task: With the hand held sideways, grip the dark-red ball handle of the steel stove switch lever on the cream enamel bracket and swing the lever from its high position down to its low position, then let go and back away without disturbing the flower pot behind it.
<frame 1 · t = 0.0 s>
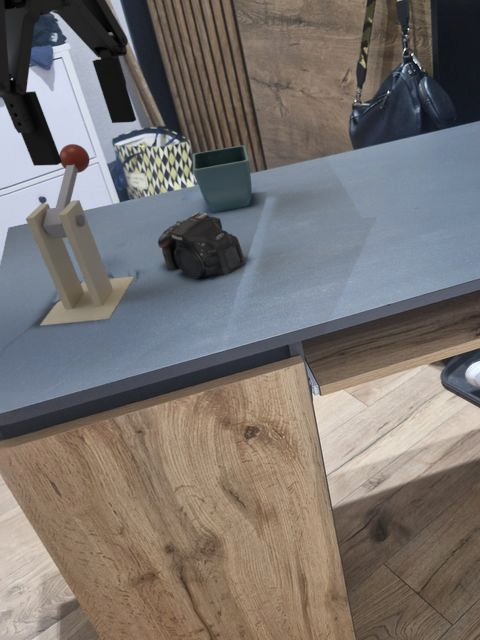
hand: (89, 141, 67), 22 cm above the table, tool pointing down, fingers open, 13 cm apart
camera: (207, 274, 89), on the table
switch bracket: (92, 307, 85), on the table
lever: (67, 188, 81), point 14 cm above the table, hinge at 25.0°
flower pot: (232, 210, 108), on the table
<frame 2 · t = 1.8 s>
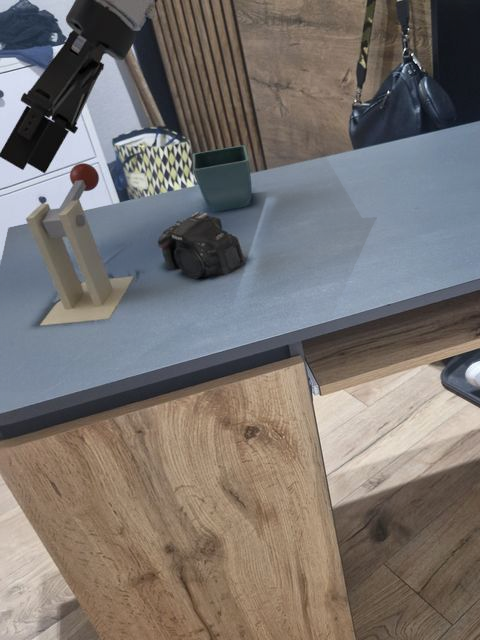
hand: (23, 165, 79), 18 cm above the table, tool tilted 50°, fingers open, 13 cm apart
lever: (72, 198, 82), point 13 cm above the table, hinge at 9.5°
everything else where it was.
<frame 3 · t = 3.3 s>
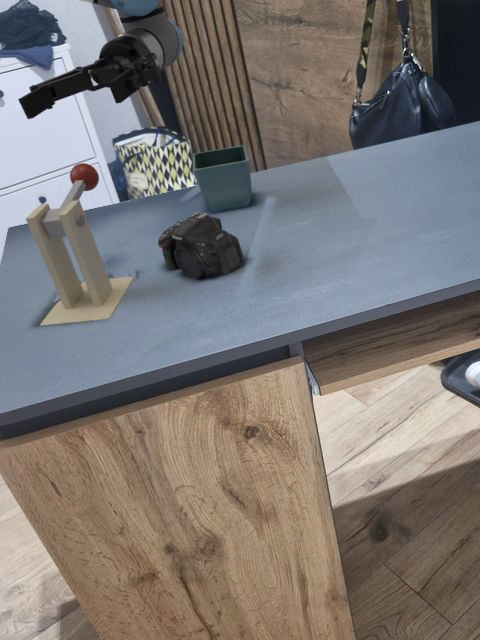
hand: (69, 101, 86), 22 cm above the table, tool horizontal, fingers open, 13 cm apart
nothing on the table moved.
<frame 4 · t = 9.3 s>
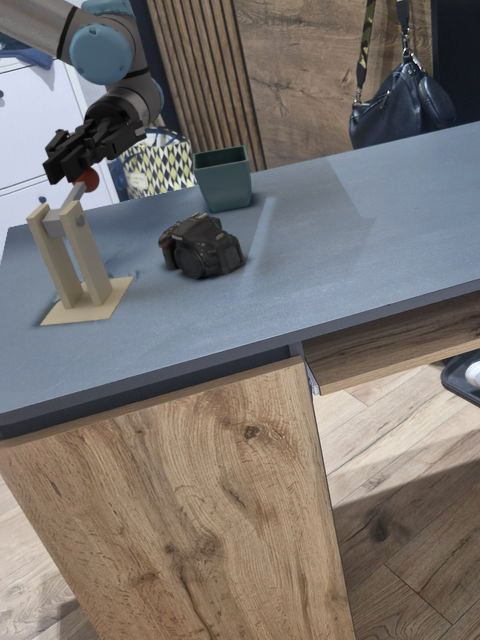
hand: (58, 173, 79), 17 cm above the table, tool horizontal, fingers closed on lever, 2 cm apart
lever: (73, 199, 82), point 13 cm above the table, hinge at 8.0°, touching gripper
everything else where it was.
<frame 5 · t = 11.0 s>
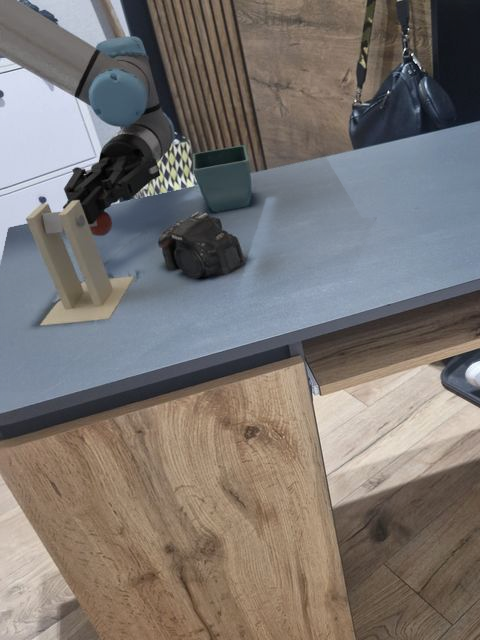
hand: (78, 215, 83), 11 cm above the table, tool horizontal, fingers closed
lever: (80, 222, 83), point 10 cm above the table, hinge at -23.7°, touching gripper
everything else where it was.
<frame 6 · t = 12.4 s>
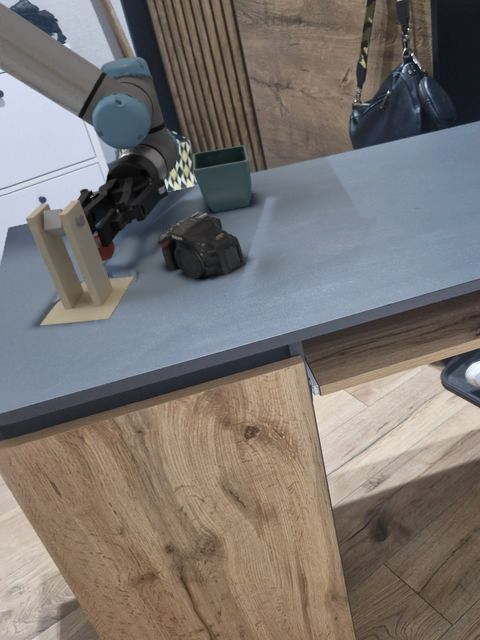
hand: (88, 239, 84), 8 cm above the table, tool horizontal, fingers open, 3 cm apart
lever: (81, 236, 84), point 8 cm above the table, hinge at -41.9°, touching gripper
everything else where it was.
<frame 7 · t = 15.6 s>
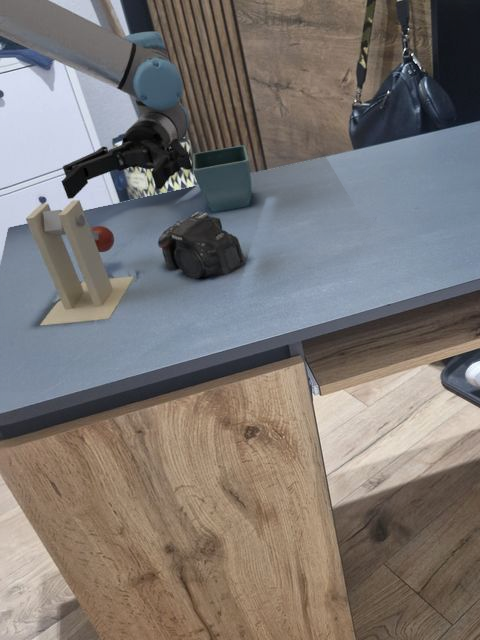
hand: (111, 185, 94), 10 cm above the table, tool horizontal, fingers open, 13 cm apart
lever: (81, 231, 84), point 9 cm above the table, hinge at -35.4°
everything else where it was.
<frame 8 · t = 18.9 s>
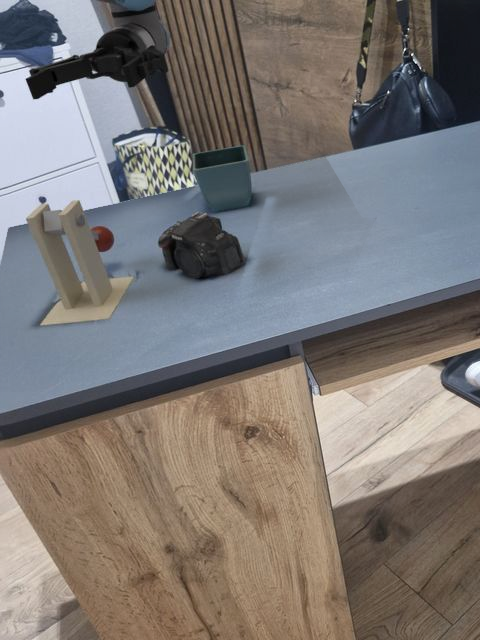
hand: (79, 83, 87), 24 cm above the table, tool horizontal, fingers open, 13 cm apart
nothing on the table moved.
at the end: lever at -35° (first picture: +25°); lever reached -42° during the clip, -35° at the end; flower pot moved 0.2 cm from its start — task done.
